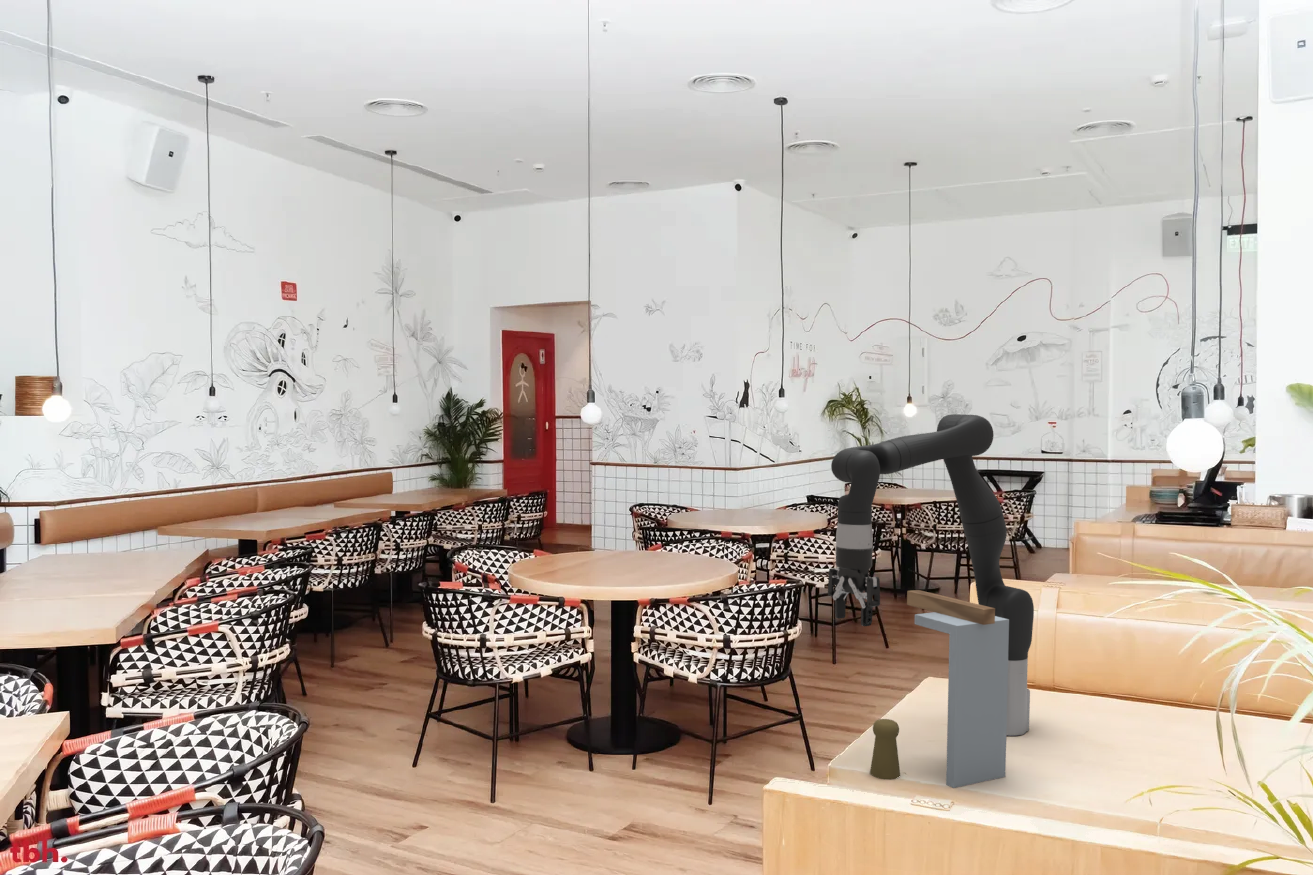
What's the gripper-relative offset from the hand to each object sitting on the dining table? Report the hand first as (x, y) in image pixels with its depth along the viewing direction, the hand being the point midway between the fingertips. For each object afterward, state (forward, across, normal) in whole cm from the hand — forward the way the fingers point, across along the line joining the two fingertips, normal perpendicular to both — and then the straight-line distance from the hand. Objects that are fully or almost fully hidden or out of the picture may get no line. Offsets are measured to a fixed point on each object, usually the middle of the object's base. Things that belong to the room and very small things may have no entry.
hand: (852, 621), depth 220 cm
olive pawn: (+30, -10, -1) cm, 31 cm away
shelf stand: (+29, -16, -15) cm, 37 cm away
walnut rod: (-3, -12, -15) cm, 20 cm away
